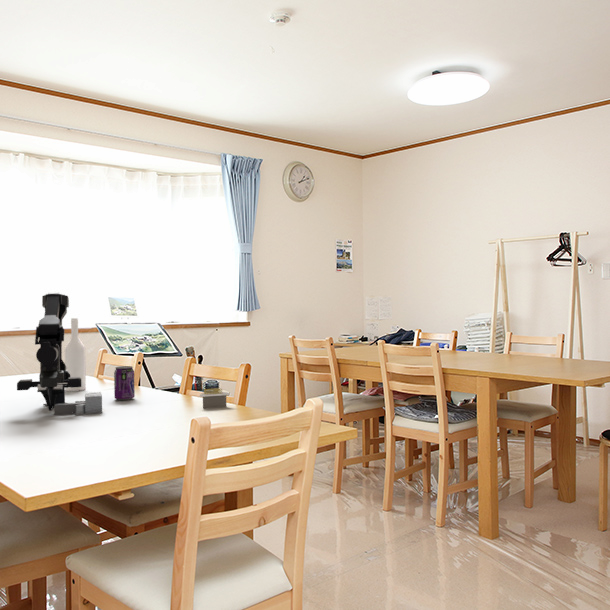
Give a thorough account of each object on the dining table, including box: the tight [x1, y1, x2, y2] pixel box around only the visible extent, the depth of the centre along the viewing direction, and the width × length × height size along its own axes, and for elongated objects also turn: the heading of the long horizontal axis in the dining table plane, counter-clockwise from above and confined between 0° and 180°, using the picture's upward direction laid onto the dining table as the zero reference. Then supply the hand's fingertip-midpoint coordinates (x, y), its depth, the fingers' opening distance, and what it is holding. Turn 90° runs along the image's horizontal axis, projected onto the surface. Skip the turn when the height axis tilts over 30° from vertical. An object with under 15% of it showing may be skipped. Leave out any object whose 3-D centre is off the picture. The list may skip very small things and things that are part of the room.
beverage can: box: [113, 365, 136, 402], centre depth 215 cm, size 7×7×12 cm
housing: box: [74, 391, 103, 416], centre depth 190 cm, size 8×10×6 cm
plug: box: [53, 402, 85, 416], centre depth 189 cm, size 14×4×4 cm, turn 112°
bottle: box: [64, 317, 87, 392], centre depth 243 cm, size 8×8×30 cm
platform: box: [199, 387, 231, 410], centre depth 195 cm, size 12×18×7 cm, turn 111°
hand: (50, 410), depth 186 cm, fingers closed
